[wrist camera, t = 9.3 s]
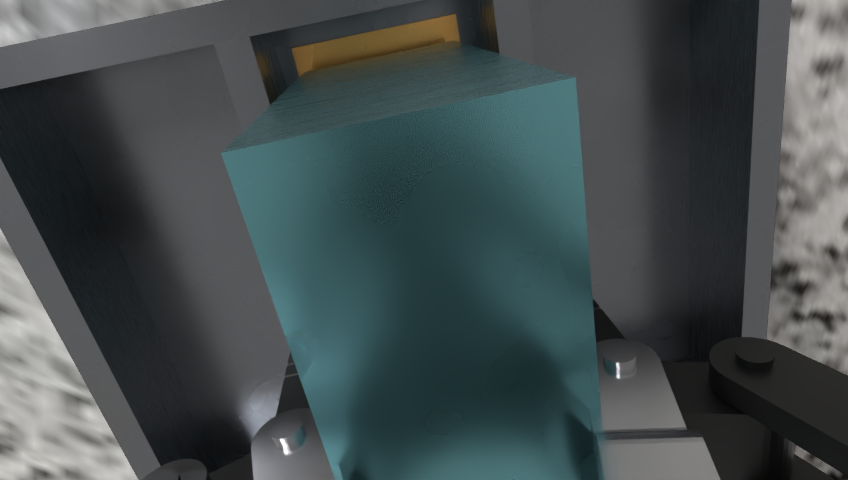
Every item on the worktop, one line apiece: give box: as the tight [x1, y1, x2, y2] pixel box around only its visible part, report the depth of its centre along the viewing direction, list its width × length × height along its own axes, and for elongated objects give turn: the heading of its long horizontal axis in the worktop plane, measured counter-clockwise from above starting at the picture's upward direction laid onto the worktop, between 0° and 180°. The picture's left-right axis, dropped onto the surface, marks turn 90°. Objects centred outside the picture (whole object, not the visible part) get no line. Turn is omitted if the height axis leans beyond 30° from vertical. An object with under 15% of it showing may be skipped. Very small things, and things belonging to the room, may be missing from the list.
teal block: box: [221, 40, 601, 480], centre depth 12 cm, size 12×4×9 cm, turn 11°
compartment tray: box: [0, 0, 792, 480], centre depth 16 cm, size 16×20×5 cm
